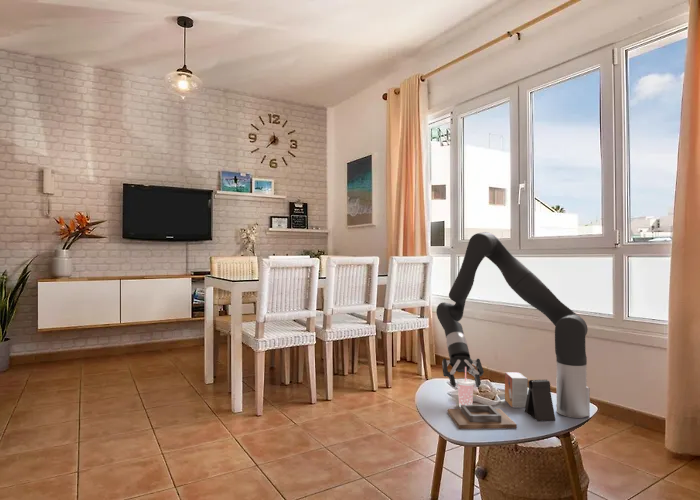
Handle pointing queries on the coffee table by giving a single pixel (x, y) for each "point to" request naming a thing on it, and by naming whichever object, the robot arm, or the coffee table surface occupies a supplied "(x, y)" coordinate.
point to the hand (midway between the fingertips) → (466, 386)
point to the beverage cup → (465, 391)
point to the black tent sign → (540, 401)
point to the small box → (516, 389)
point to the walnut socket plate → (480, 417)
